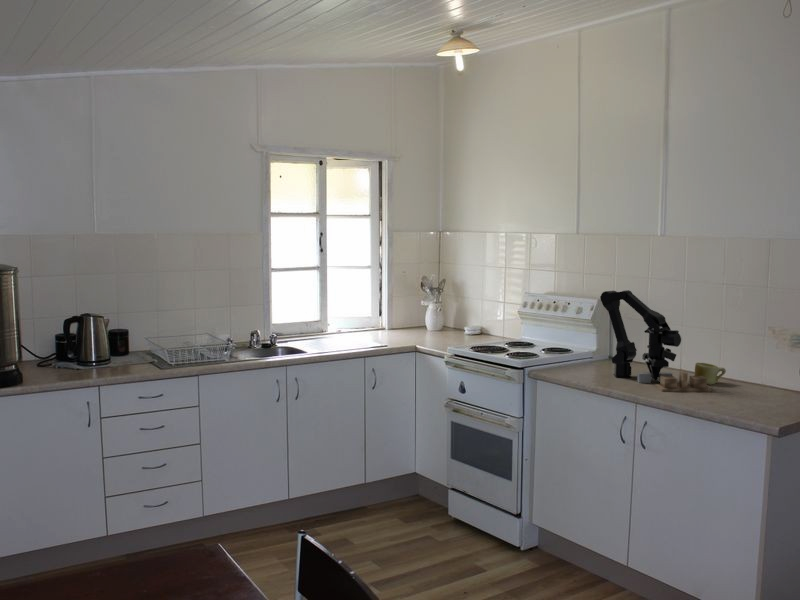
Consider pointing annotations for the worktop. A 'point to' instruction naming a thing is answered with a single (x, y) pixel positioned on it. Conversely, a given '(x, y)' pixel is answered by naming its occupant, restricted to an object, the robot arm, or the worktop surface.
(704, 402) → the worktop surface
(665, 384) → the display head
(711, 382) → the mug
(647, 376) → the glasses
